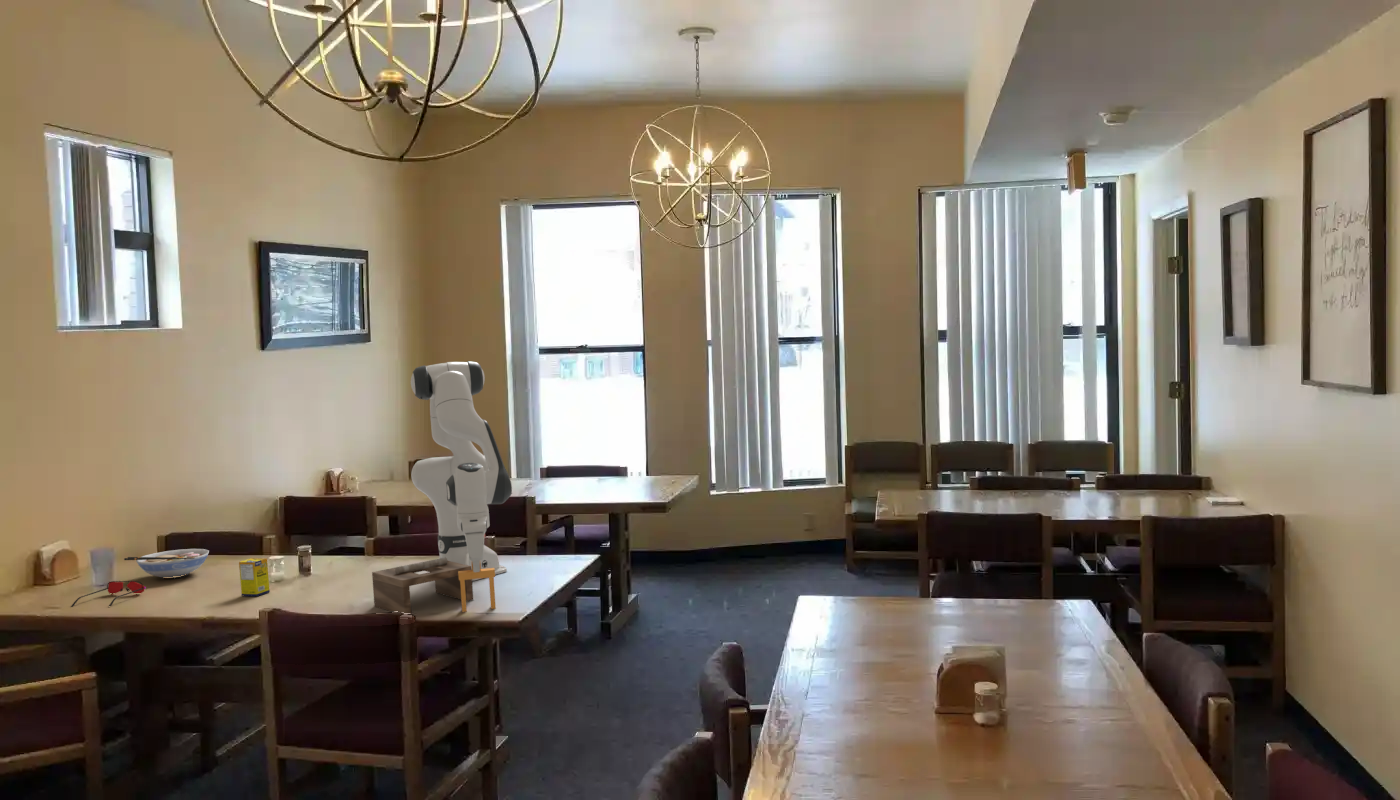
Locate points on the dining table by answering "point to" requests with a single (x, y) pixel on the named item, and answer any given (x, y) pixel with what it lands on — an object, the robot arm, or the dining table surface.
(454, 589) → the shelf
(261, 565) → the supplement box
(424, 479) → the robot arm
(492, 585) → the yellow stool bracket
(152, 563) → the ramen bowl
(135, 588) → the glasses
